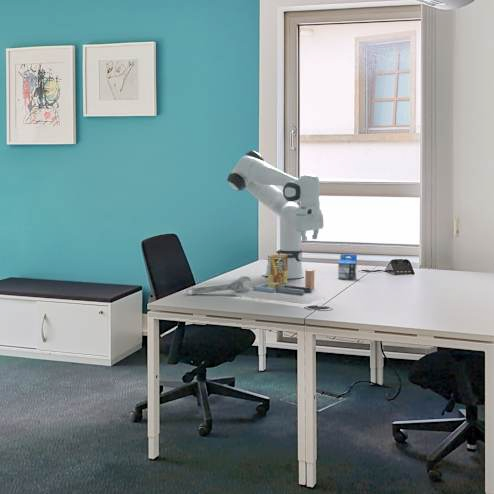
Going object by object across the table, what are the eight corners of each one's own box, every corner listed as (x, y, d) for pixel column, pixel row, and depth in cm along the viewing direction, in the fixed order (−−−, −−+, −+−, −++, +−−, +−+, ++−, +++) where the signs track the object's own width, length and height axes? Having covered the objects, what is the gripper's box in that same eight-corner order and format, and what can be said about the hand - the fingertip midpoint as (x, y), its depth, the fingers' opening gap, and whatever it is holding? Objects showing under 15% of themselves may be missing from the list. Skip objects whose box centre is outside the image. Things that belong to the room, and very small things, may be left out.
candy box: (284, 284, 350) (284, 253, 348) (287, 286, 346) (287, 254, 344) (267, 286, 347) (267, 254, 345) (270, 287, 343) (270, 255, 341)
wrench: (187, 300, 326) (252, 292, 328) (187, 301, 325) (253, 292, 326) (185, 283, 325) (250, 274, 327) (185, 284, 324) (250, 275, 325)
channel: (274, 295, 322) (274, 287, 322) (286, 292, 331) (286, 284, 330) (301, 298, 314) (301, 290, 314) (312, 295, 323) (312, 287, 322)
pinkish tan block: (304, 292, 331) (304, 270, 329) (309, 290, 334) (309, 269, 333) (310, 292, 329) (310, 271, 328) (314, 291, 332) (315, 269, 331)
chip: (267, 292, 328) (267, 283, 327) (272, 290, 331) (272, 282, 331) (275, 292, 326) (275, 284, 325) (279, 291, 329) (279, 283, 328)
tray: (253, 293, 328) (253, 286, 328) (267, 289, 338) (267, 283, 337) (273, 295, 322) (273, 289, 321) (287, 291, 331) (287, 285, 331)
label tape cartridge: (337, 278, 369) (338, 254, 367) (339, 277, 372) (340, 253, 371) (354, 279, 366) (355, 255, 364) (356, 278, 369) (357, 254, 368)
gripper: (315, 208, 337) (314, 237, 339) (292, 210, 321) (292, 241, 322) (327, 208, 334) (326, 238, 335) (304, 211, 317) (304, 242, 319)
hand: (309, 239), depth 329 cm, fingers open, 8 cm apart
